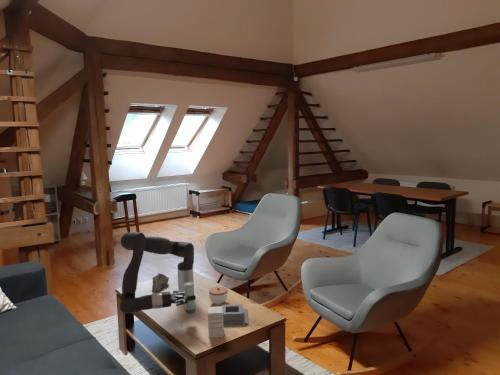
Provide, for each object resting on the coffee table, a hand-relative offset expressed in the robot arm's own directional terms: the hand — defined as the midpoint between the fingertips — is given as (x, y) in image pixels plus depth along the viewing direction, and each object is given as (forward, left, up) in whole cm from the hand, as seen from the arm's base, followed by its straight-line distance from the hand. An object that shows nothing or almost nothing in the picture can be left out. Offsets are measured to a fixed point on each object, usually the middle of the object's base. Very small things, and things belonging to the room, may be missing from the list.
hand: (194, 295), depth 206 cm
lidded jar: (-23, +11, -15) cm, 30 cm away
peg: (+1, -2, -9) cm, 9 cm away
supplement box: (+13, +11, -15) cm, 23 cm away
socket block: (-3, +19, -15) cm, 24 cm away
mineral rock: (-49, -26, -15) cm, 57 cm away
